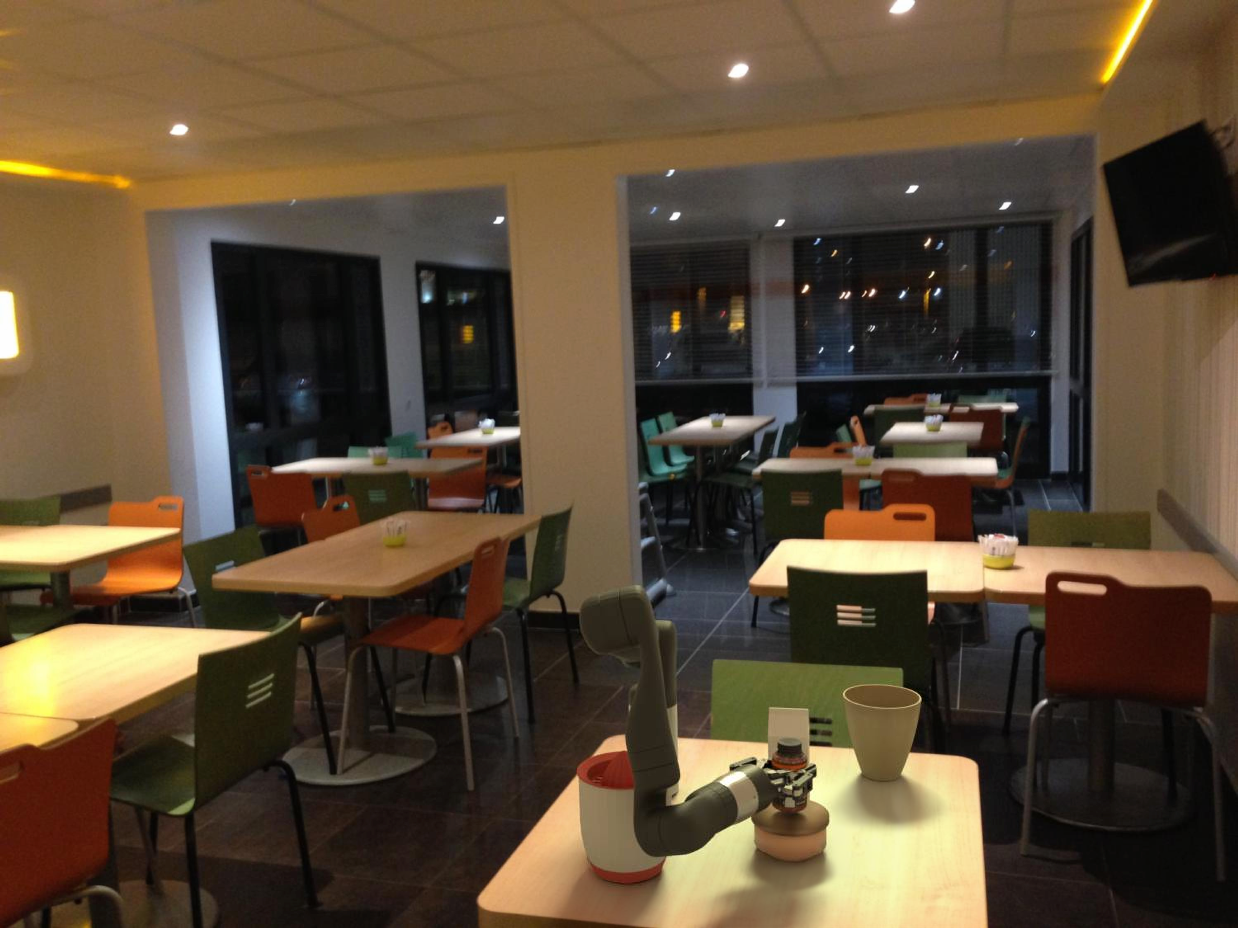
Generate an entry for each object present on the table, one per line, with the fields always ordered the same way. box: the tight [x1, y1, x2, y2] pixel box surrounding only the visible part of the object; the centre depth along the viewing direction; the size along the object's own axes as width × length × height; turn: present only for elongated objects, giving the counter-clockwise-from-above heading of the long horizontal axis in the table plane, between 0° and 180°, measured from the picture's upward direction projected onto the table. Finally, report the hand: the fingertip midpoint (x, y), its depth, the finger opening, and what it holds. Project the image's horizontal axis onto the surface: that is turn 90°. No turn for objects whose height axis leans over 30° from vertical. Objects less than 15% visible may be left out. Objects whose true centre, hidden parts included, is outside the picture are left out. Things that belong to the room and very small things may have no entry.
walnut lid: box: [750, 799, 830, 836], centre depth 180 cm, size 13×13×1 cm
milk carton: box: [767, 707, 811, 800], centre depth 196 cm, size 7×7×19 cm
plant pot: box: [842, 683, 922, 782], centre depth 211 cm, size 15×15×16 cm
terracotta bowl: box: [753, 824, 828, 862], centre depth 181 cm, size 12×12×6 cm
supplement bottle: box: [772, 737, 807, 813], centre depth 179 cm, size 6×6×11 cm
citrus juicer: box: [576, 749, 673, 885], centre depth 176 cm, size 16×17×20 cm
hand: (797, 764), depth 181 cm, fingers closed on supplement bottle, 6 cm apart
